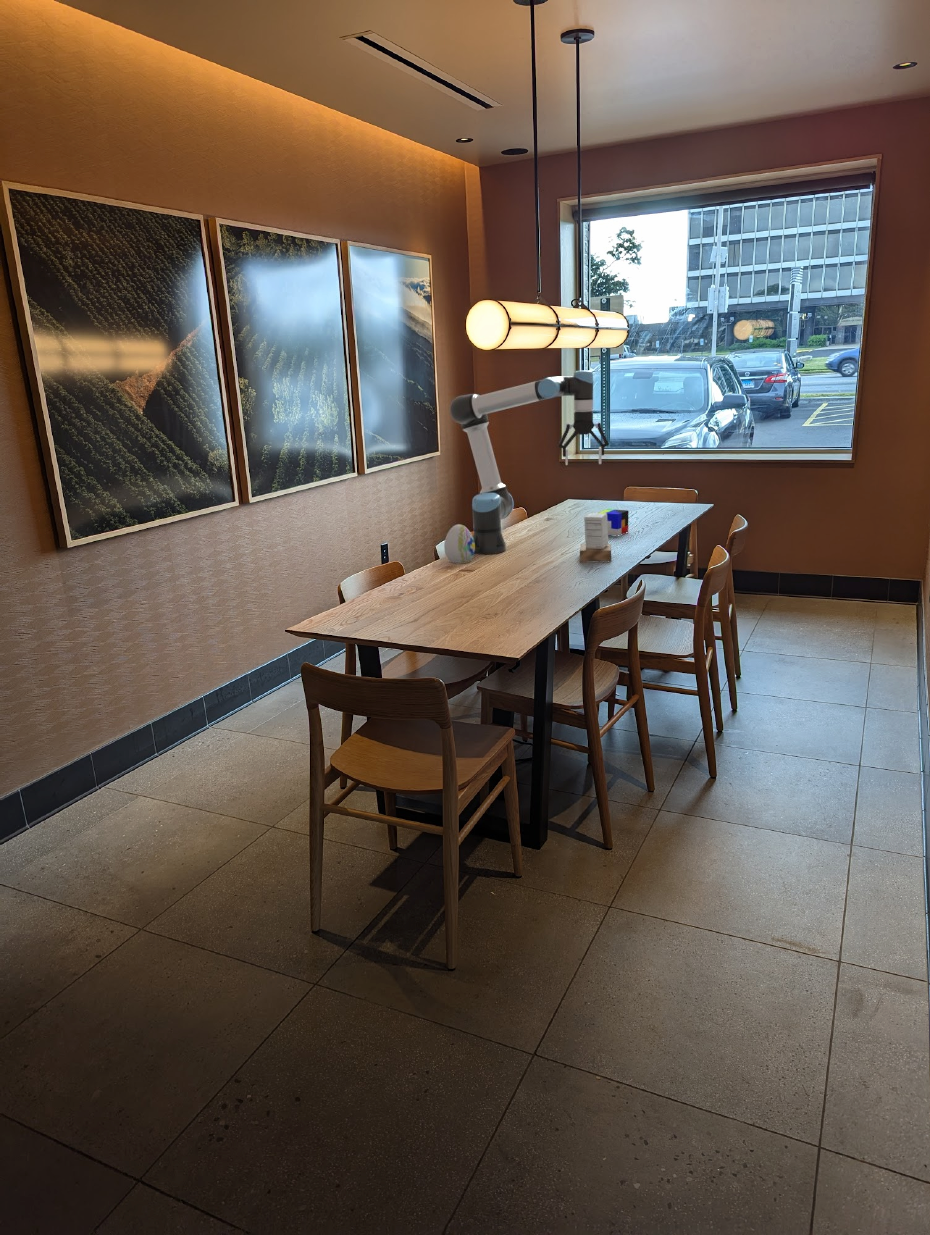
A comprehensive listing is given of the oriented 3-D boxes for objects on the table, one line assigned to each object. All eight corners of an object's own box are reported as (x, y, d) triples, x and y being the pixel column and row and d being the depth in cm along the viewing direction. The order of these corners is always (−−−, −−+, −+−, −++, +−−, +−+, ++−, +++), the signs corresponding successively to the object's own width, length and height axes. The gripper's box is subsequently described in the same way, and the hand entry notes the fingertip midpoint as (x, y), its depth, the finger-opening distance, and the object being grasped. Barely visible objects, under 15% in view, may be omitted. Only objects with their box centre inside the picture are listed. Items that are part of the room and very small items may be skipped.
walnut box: (579, 563, 327) (579, 550, 325) (581, 556, 338) (580, 544, 337) (611, 563, 325) (611, 550, 323) (611, 556, 336) (611, 543, 335)
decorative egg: (469, 565, 329) (468, 527, 325) (440, 564, 333) (438, 527, 329) (479, 558, 340) (478, 521, 336) (451, 557, 344) (449, 521, 340)
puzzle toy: (617, 536, 369) (618, 514, 367) (597, 534, 375) (597, 512, 372) (628, 532, 377) (628, 510, 374) (608, 530, 383) (608, 508, 380)
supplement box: (590, 543, 335) (589, 512, 331) (608, 544, 332) (607, 513, 328) (584, 548, 329) (583, 516, 325) (603, 549, 325) (602, 517, 321)
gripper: (613, 409, 339) (612, 462, 345) (551, 411, 340) (552, 464, 346) (616, 410, 332) (615, 464, 338) (553, 412, 333) (553, 466, 339)
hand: (583, 464), depth 342 cm, fingers open, 13 cm apart
